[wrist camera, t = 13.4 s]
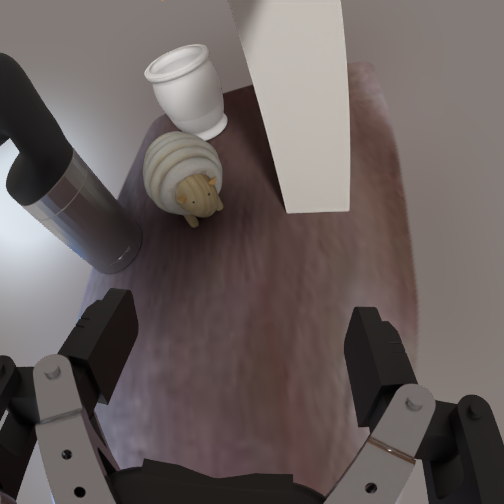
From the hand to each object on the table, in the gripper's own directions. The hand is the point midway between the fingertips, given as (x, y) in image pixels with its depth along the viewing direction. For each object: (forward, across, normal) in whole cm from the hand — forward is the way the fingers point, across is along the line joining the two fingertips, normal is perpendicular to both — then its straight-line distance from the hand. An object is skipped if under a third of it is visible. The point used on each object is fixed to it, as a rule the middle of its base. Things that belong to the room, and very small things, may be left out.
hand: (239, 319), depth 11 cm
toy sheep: (+35, +9, +8) cm, 37 cm away
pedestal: (+36, -8, +3) cm, 37 cm away
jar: (+49, +10, 0) cm, 50 cm away
